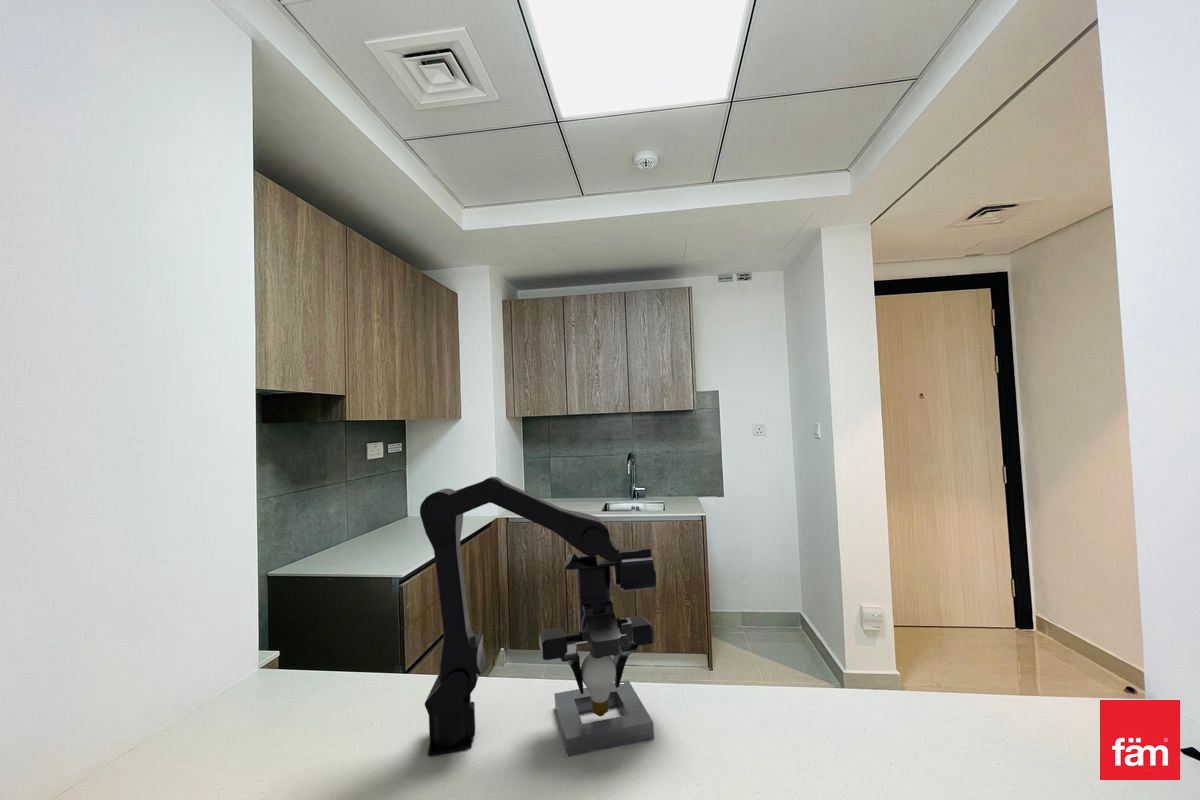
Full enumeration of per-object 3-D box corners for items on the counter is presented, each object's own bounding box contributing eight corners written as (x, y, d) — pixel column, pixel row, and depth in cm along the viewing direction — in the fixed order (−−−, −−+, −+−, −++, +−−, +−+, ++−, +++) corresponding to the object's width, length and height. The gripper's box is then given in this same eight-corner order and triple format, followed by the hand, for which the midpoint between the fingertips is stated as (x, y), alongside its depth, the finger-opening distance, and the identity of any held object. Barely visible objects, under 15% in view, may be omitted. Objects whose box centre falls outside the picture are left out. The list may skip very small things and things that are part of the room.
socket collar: (567, 756, 72) (566, 739, 72) (555, 708, 85) (554, 693, 85) (654, 738, 75) (653, 721, 75) (629, 694, 88) (628, 680, 88)
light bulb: (618, 724, 77) (615, 659, 78) (581, 726, 77) (578, 661, 78) (618, 704, 83) (614, 644, 84) (584, 706, 83) (580, 645, 84)
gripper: (544, 617, 72) (549, 728, 70) (663, 601, 76) (669, 705, 75) (537, 594, 82) (541, 690, 81) (641, 581, 87) (646, 672, 86)
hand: (599, 689), depth 80 cm, fingers closed on light bulb, 6 cm apart
